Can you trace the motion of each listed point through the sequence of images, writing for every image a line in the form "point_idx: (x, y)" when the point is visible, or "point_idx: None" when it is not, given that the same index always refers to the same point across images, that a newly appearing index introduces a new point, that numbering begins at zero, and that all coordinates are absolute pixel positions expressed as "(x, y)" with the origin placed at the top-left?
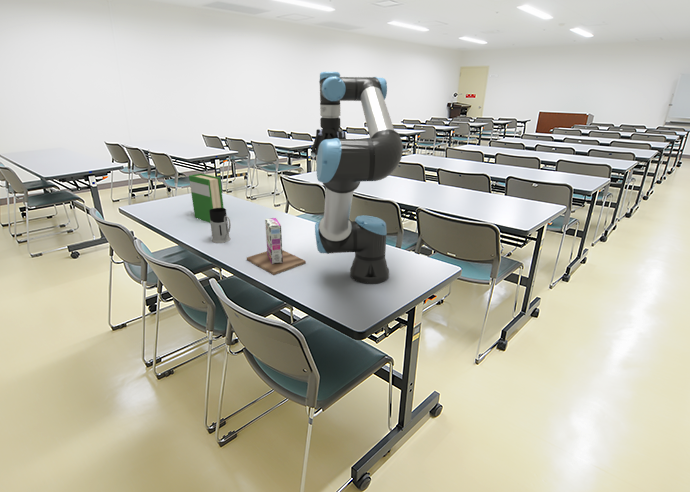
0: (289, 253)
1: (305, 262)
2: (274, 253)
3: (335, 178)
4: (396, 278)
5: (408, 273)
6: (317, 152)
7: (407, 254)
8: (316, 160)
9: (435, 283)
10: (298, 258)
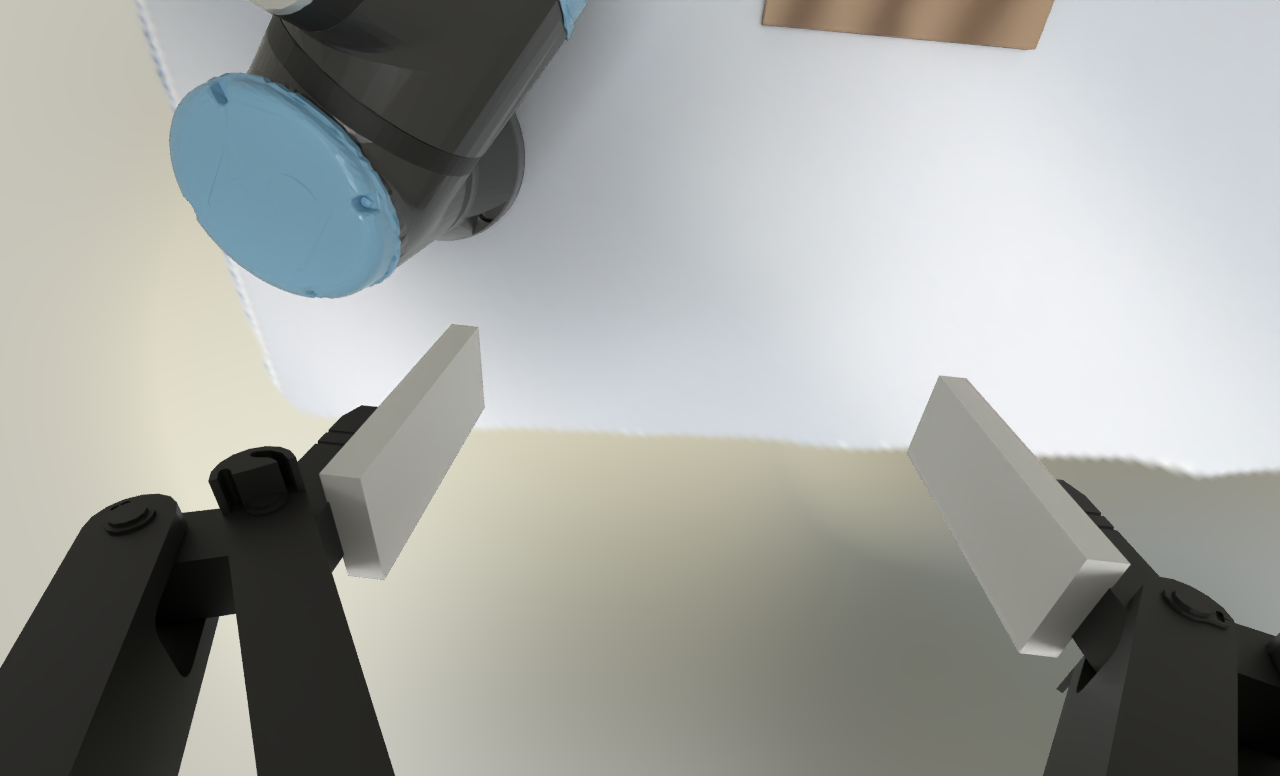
0: (912, 34)
1: (762, 22)
2: None
3: None
4: None
5: None
6: (1131, 625)
7: (487, 412)
8: (1052, 484)
9: None
10: (819, 18)
